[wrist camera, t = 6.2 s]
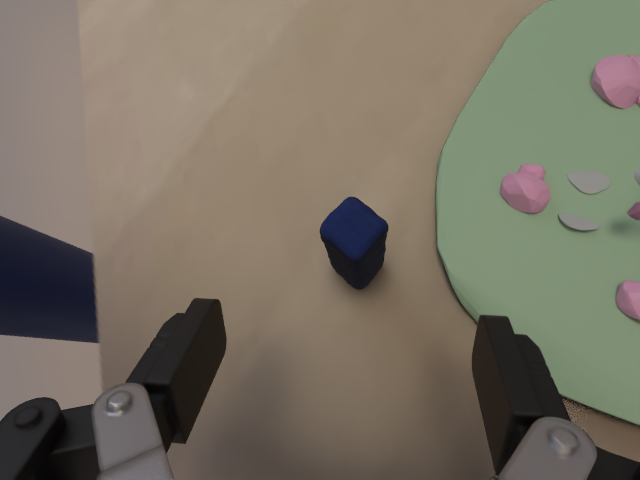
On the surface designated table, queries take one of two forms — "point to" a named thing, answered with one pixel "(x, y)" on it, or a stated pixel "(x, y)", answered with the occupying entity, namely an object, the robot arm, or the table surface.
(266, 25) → the table surface
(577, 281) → the plant
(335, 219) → the eraser
